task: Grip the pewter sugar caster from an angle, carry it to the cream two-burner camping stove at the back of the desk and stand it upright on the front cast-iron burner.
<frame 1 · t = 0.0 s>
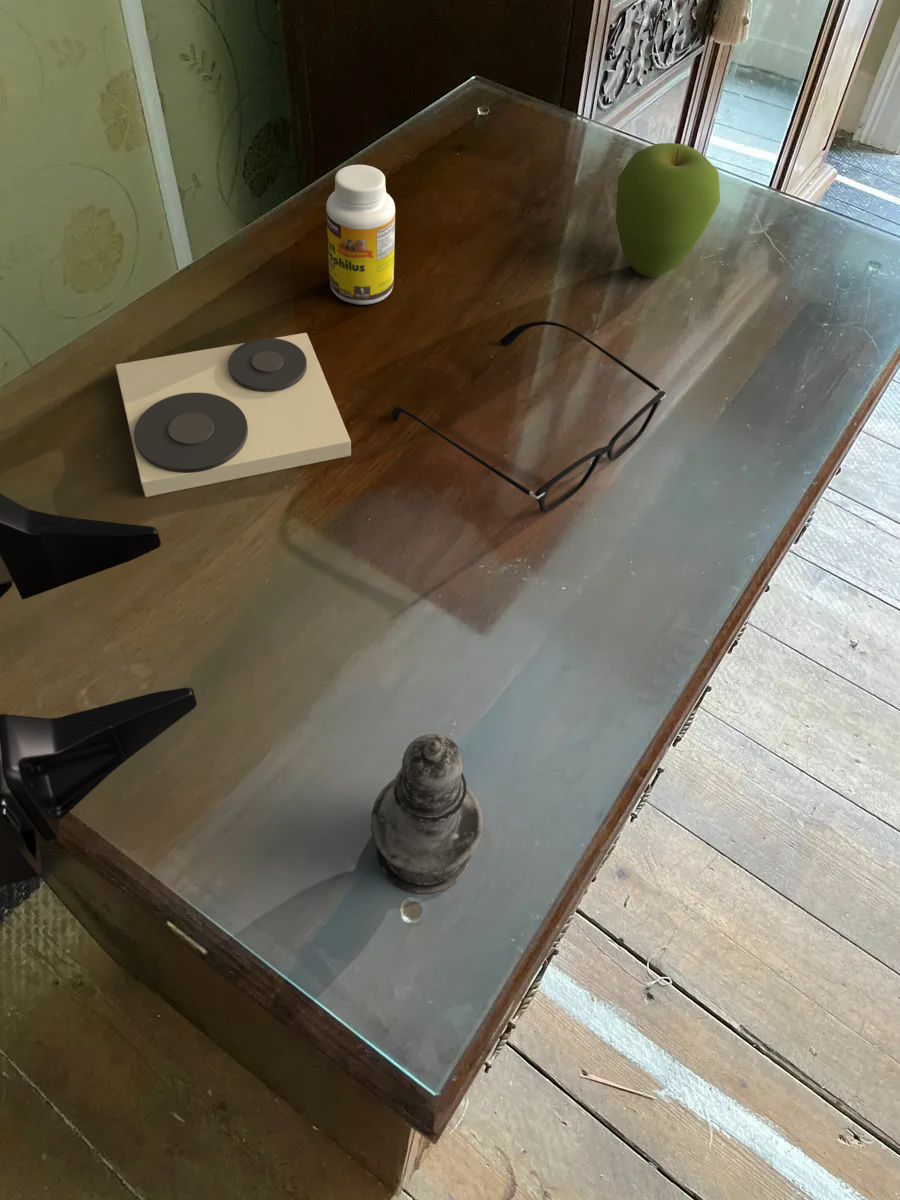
hand: (175, 611, 42), 15 cm above the table, tool horizontal, fingers open, 9 cm apart
pewter sugar caster: (424, 848, 53), on the table
apple: (647, 273, 87), on the table
stove: (232, 416, 72), on the table
supplement bottle: (362, 290, 83), on the table
eyeglasses: (521, 428, 74), on the table
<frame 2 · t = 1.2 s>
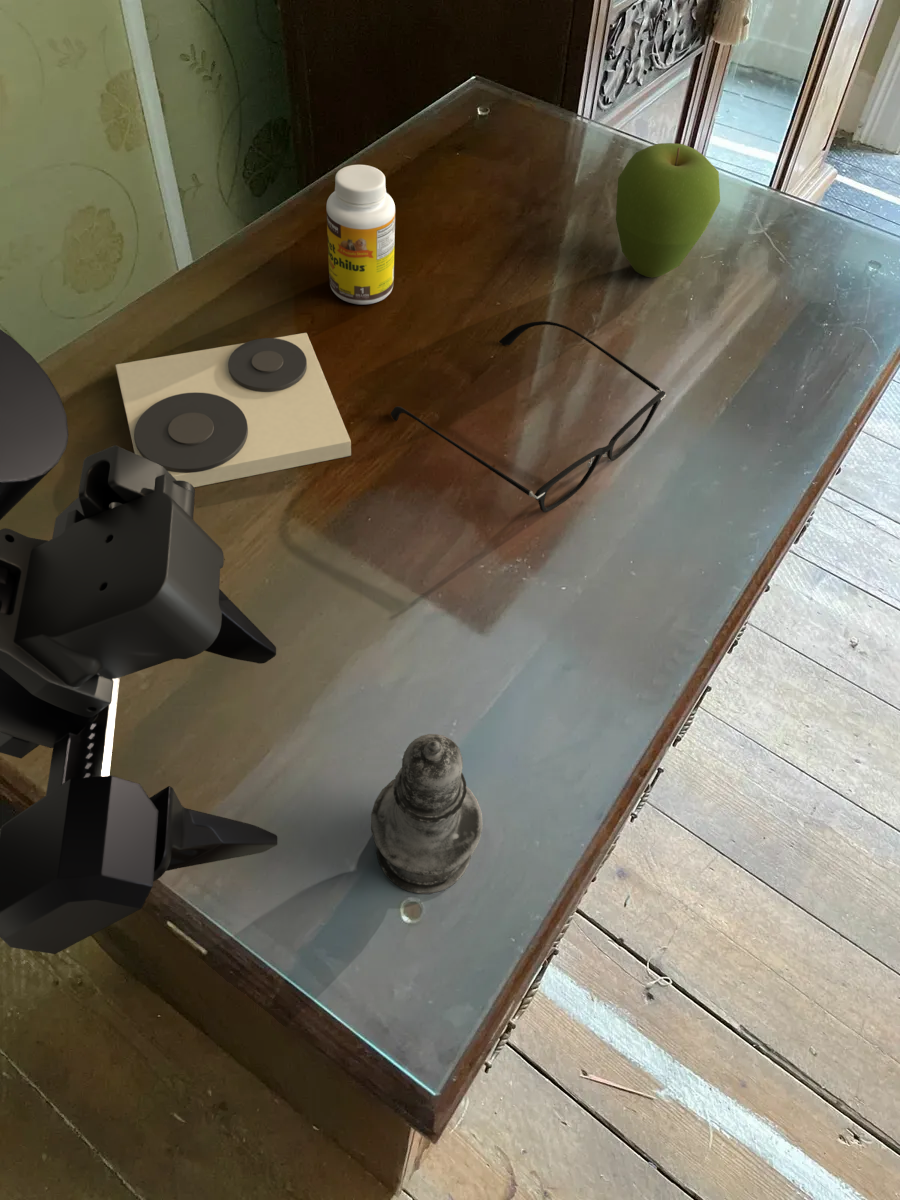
hand: (270, 744, 42), 13 cm above the table, tool tilted 45°, fingers open, 9 cm apart
nothing on the table moved.
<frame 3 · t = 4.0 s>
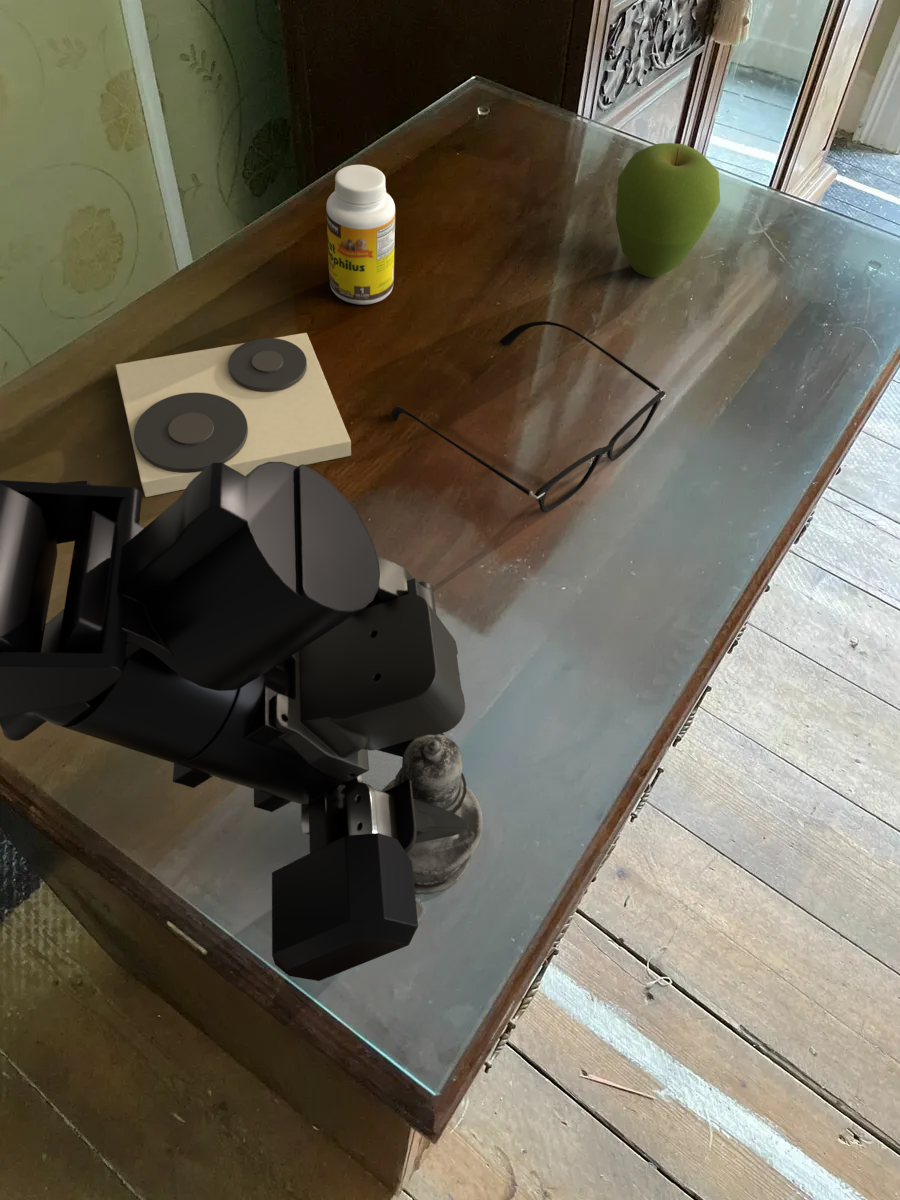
hand: (456, 793, 48), 7 cm above the table, tool tilted 45°, fingers closed on pewter sugar caster, 3 cm apart
pewter sugar caster: (424, 848, 53), on the table, touching gripper
everything else where it was.
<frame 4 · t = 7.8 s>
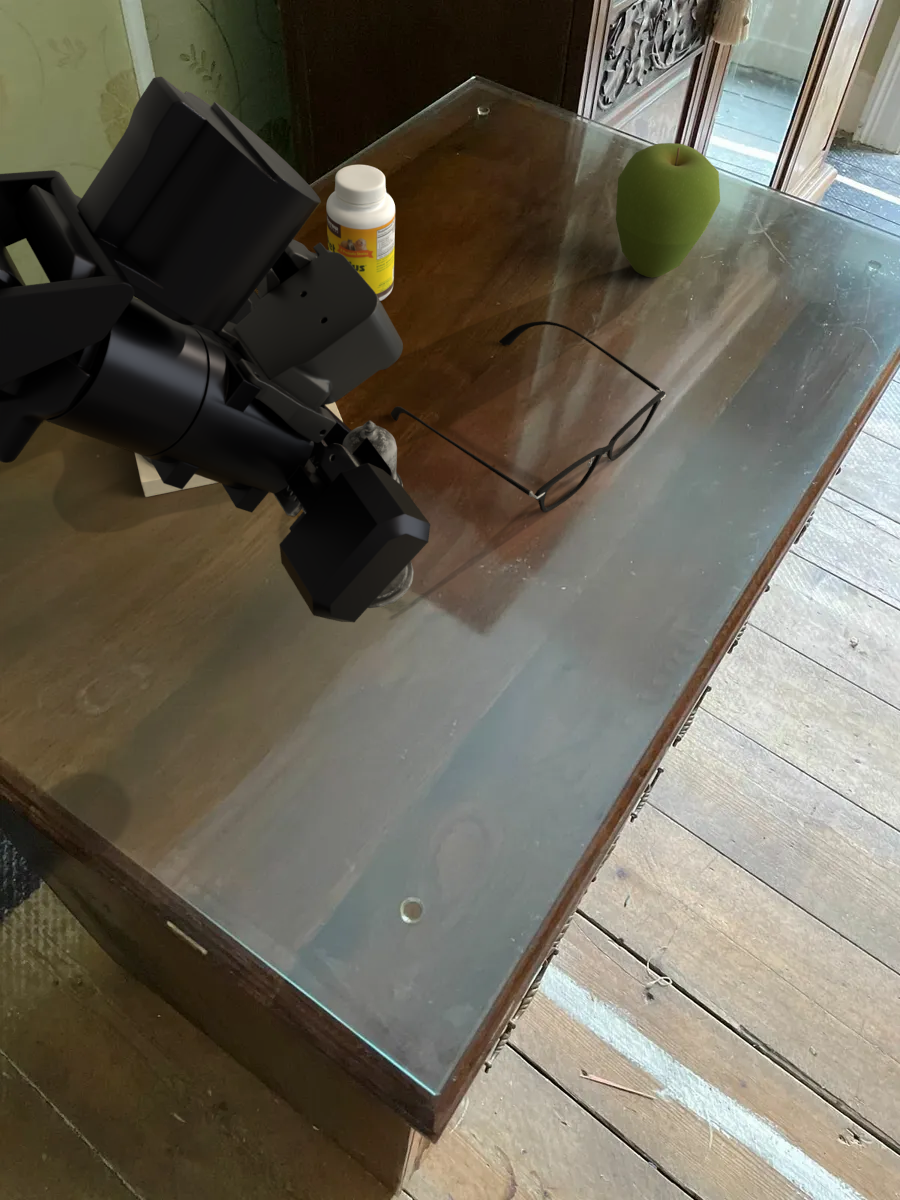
hand: (391, 488, 52), 12 cm above the table, tool tilted 45°, fingers closed on pewter sugar caster, 3 cm apart
pewter sugar caster: (369, 574, 57), point 6 cm above the table, touching gripper
everything else where it was.
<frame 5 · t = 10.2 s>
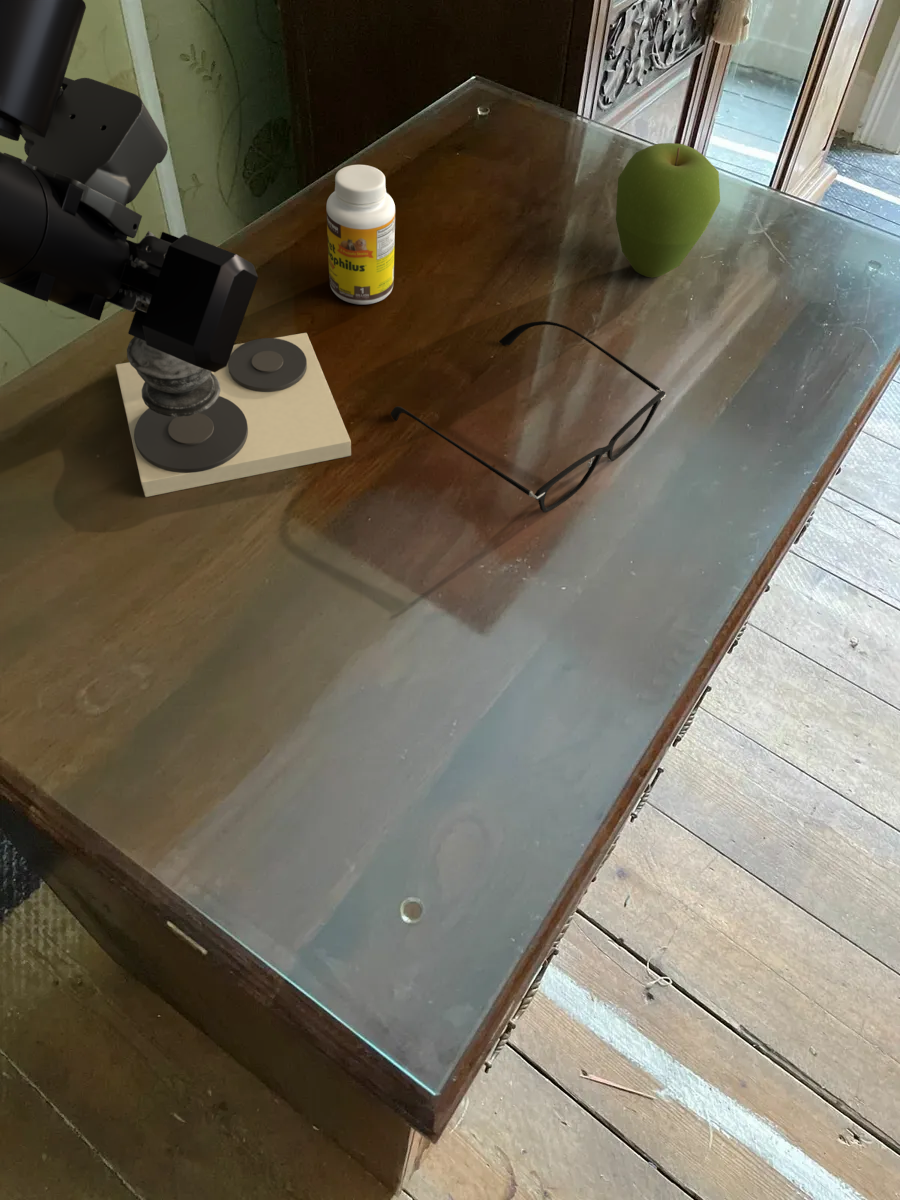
hand: (178, 299, 61), 12 cm above the table, tool tilted 45°, fingers closed on pewter sugar caster, 3 cm apart
pewter sugar caster: (181, 393, 66), point 5 cm above the table, touching gripper
everything else where it was.
when the fingers open (9 cm above the table, at t = 11.6 s): pewter sugar caster stays where it is, resting on stove.
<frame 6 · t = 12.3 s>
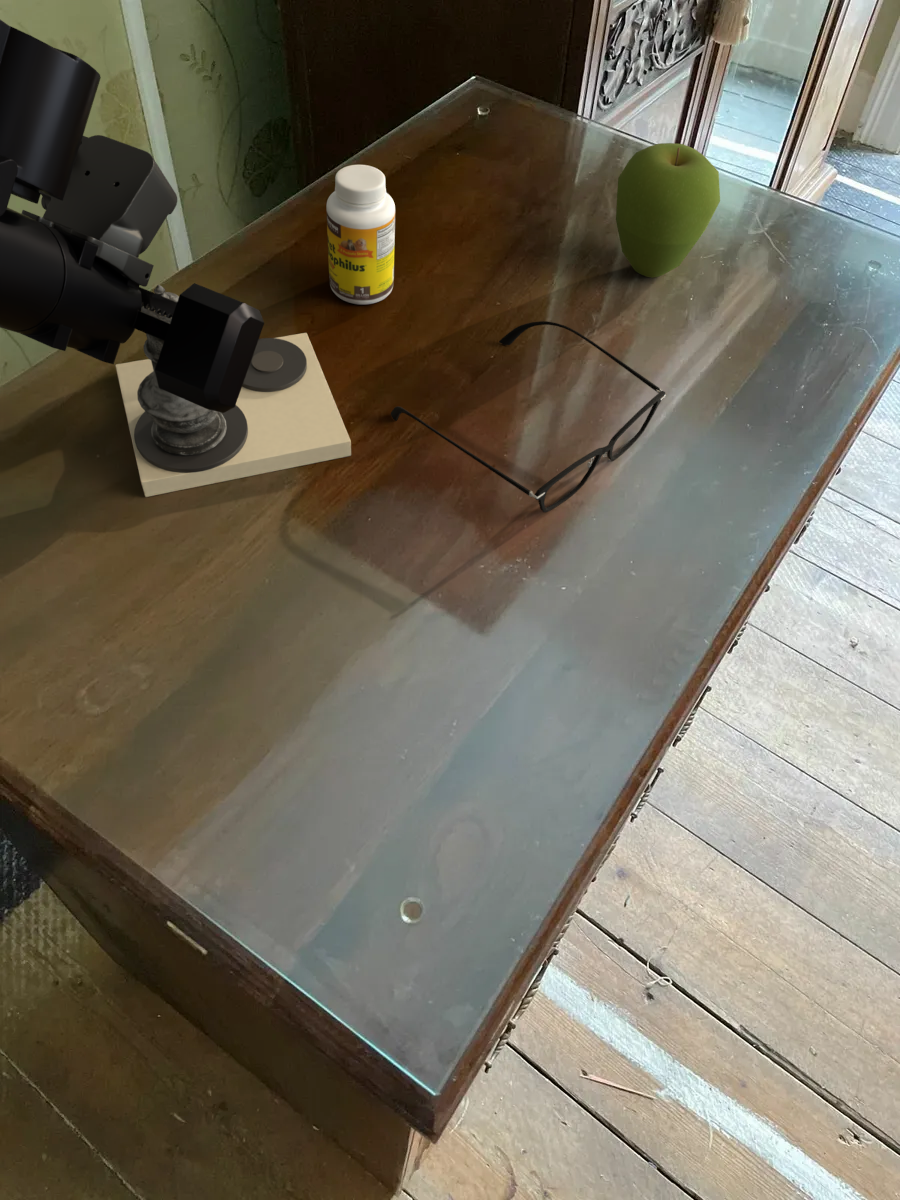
hand: (187, 336, 64), 9 cm above the table, tool tilted 45°, fingers open, 9 cm apart
pewter sugar caster: (189, 431, 69), point 2 cm above the table, touching stove
everything else where it was.
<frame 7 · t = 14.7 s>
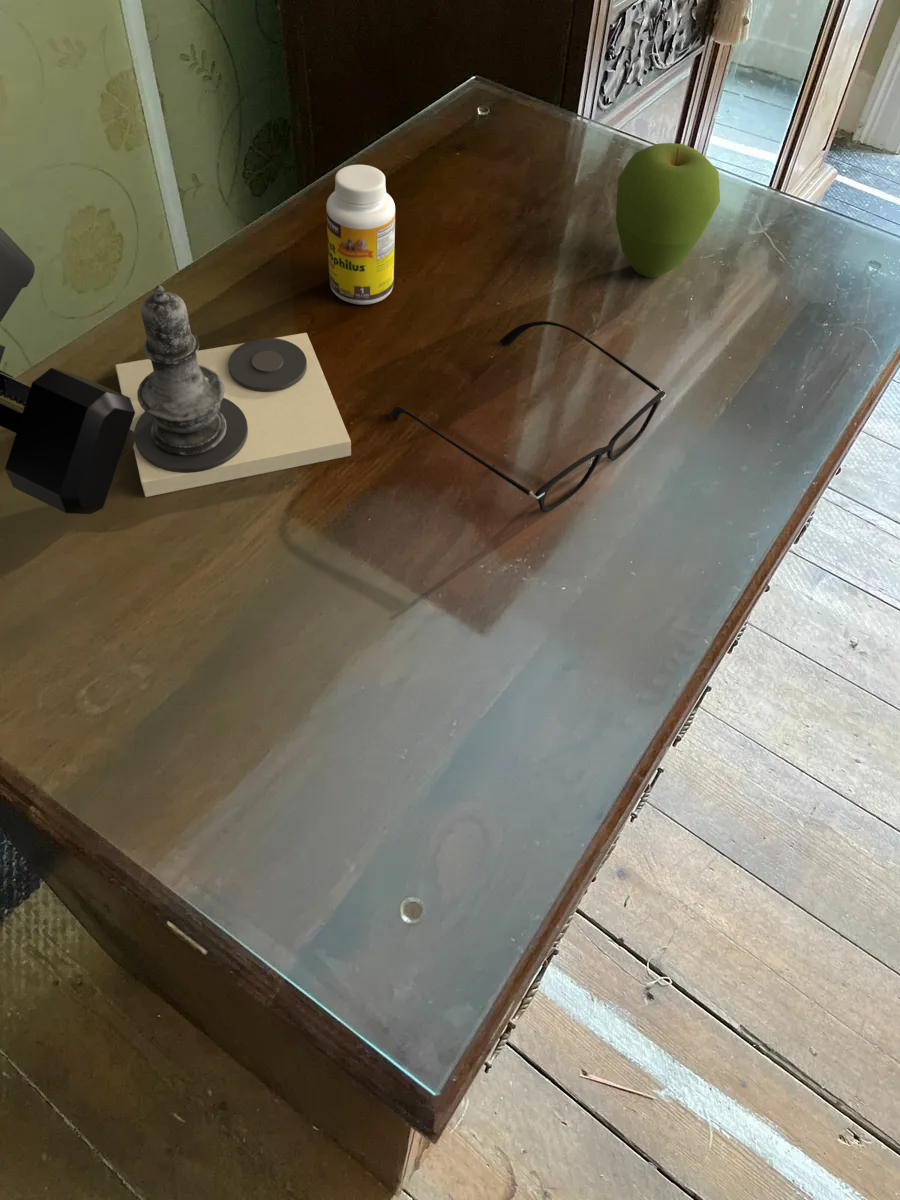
hand: (70, 412, 56), 11 cm above the table, tool tilted 45°, fingers open, 9 cm apart
nothing on the table moved.
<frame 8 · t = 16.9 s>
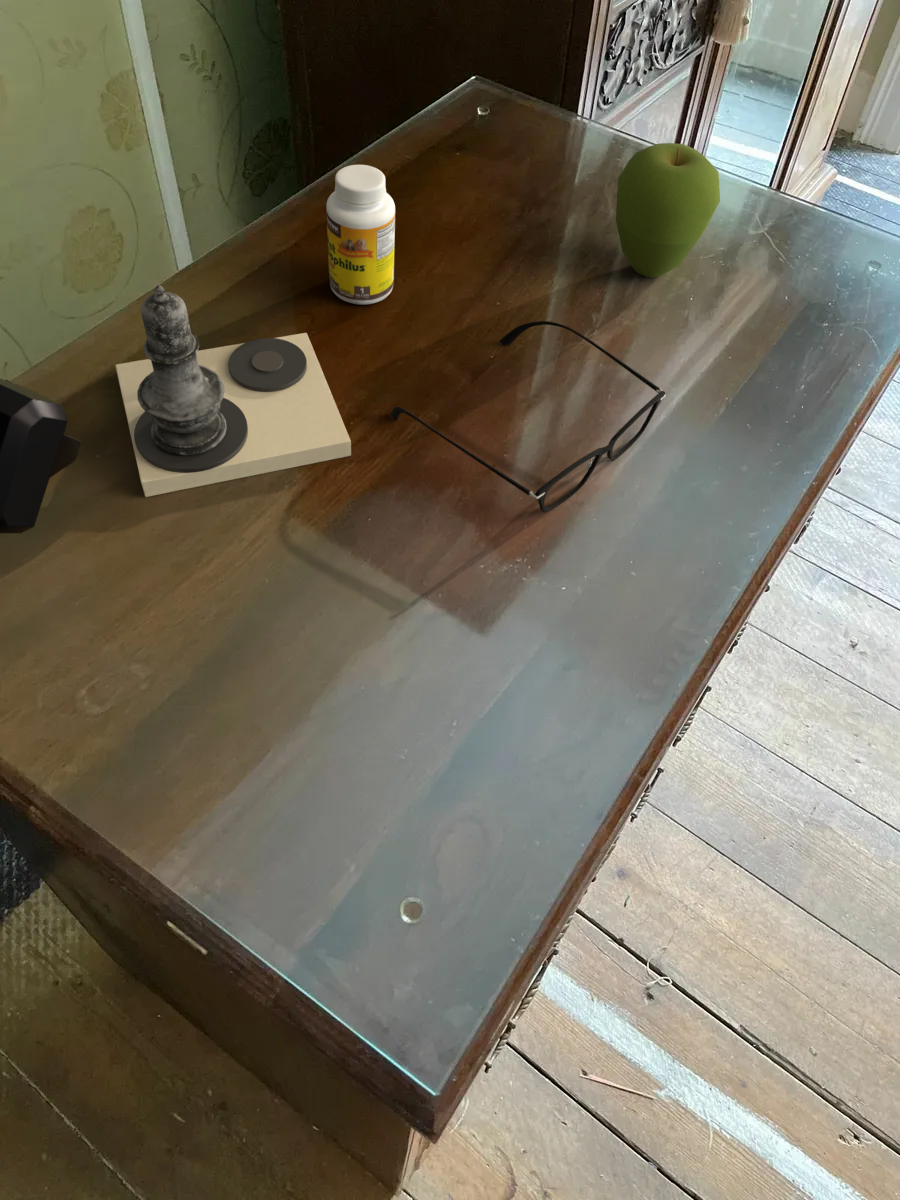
hand: (10, 418, 52), 14 cm above the table, tool tilted 45°, fingers open, 9 cm apart
nothing on the table moved.
at the end: pewter sugar caster 0.1 cm from the target spot on the stove, point 1.9 cm above the stove's base; pewter sugar caster tilted 0°; the gripper is holding nothing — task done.
